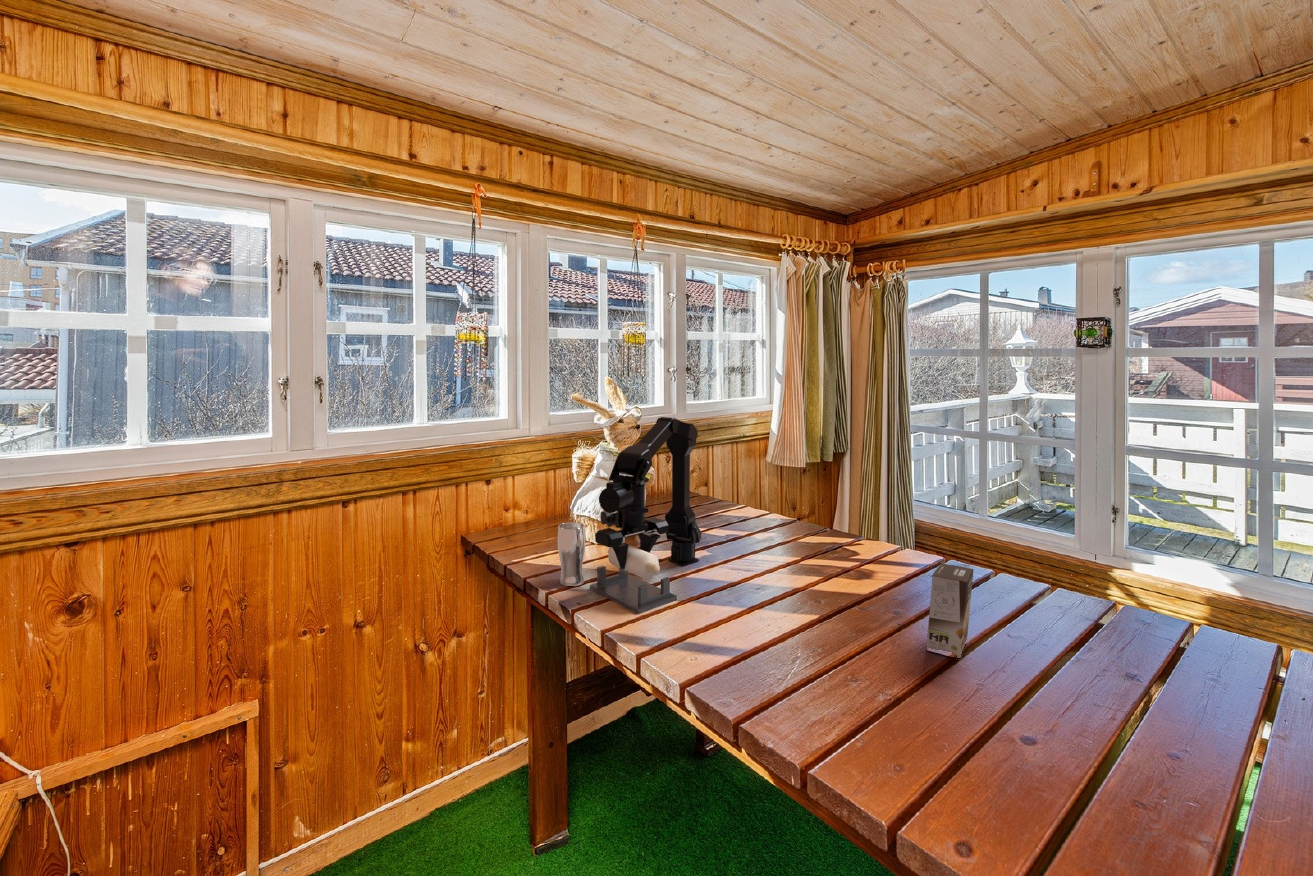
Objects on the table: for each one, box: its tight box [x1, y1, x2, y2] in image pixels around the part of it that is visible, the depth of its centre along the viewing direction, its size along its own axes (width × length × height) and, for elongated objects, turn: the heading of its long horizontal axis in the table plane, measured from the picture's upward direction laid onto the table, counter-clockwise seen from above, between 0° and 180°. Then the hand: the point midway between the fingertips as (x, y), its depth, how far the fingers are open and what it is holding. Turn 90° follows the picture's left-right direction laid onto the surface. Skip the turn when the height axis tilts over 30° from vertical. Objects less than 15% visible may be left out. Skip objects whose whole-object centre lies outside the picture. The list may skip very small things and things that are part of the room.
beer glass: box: [557, 521, 586, 587], centre depth 154 cm, size 7×7×15 cm
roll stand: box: [589, 565, 678, 615], centre depth 148 cm, size 12×19×6 cm, turn 41°
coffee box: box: [926, 563, 975, 659], centre depth 122 cm, size 9×6×16 cm
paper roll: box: [607, 544, 661, 580], centre depth 147 cm, size 17×6×6 cm, turn 42°
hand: (632, 565), depth 147 cm, fingers closed on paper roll, 6 cm apart
